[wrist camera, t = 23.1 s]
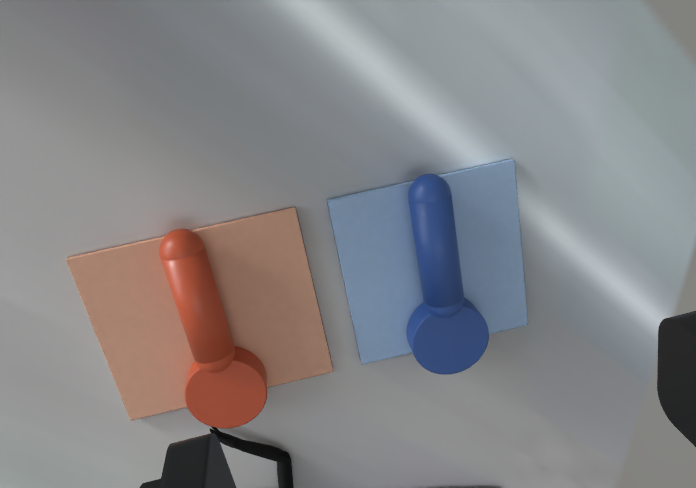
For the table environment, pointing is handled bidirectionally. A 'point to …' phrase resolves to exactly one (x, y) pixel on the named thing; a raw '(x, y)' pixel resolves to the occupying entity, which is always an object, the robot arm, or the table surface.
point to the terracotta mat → (237, 299)
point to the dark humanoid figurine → (262, 455)
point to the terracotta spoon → (210, 339)
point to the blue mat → (401, 259)
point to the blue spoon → (441, 285)
